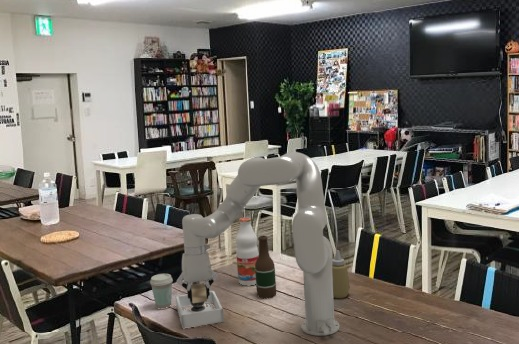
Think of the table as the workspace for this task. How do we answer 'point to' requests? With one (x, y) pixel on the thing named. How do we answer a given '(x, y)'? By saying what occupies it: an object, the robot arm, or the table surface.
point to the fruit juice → (246, 252)
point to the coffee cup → (162, 290)
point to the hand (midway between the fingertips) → (198, 298)
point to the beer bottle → (265, 271)
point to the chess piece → (198, 305)
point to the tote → (200, 317)
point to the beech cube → (198, 293)
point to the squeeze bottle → (340, 277)
